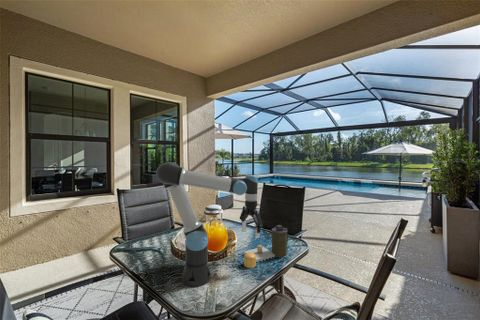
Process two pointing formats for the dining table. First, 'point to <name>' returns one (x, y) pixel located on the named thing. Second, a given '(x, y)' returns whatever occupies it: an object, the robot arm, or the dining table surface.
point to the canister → (279, 241)
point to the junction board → (261, 253)
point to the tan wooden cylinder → (249, 260)
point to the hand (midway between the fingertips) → (250, 234)
